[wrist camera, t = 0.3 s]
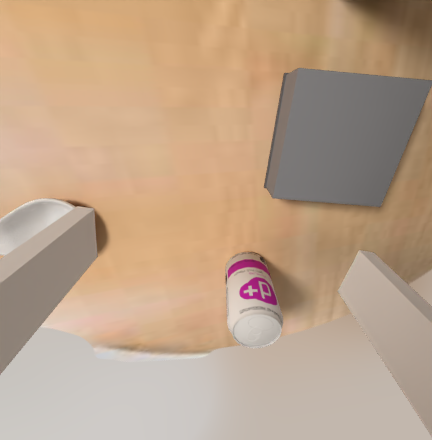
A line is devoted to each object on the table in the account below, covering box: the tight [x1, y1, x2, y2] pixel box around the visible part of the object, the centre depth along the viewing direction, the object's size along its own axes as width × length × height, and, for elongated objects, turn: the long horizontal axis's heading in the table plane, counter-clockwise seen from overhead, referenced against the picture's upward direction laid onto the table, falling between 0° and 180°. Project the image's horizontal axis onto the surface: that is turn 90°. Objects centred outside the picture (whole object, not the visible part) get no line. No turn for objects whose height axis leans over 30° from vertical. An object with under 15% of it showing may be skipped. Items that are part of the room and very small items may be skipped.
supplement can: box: [225, 252, 283, 348], centre depth 39 cm, size 8×8×15 cm
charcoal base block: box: [264, 68, 432, 207], centre depth 33 cm, size 16×16×6 cm
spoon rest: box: [0, 198, 75, 255], centre depth 40 cm, size 24×12×7 cm, turn 96°
